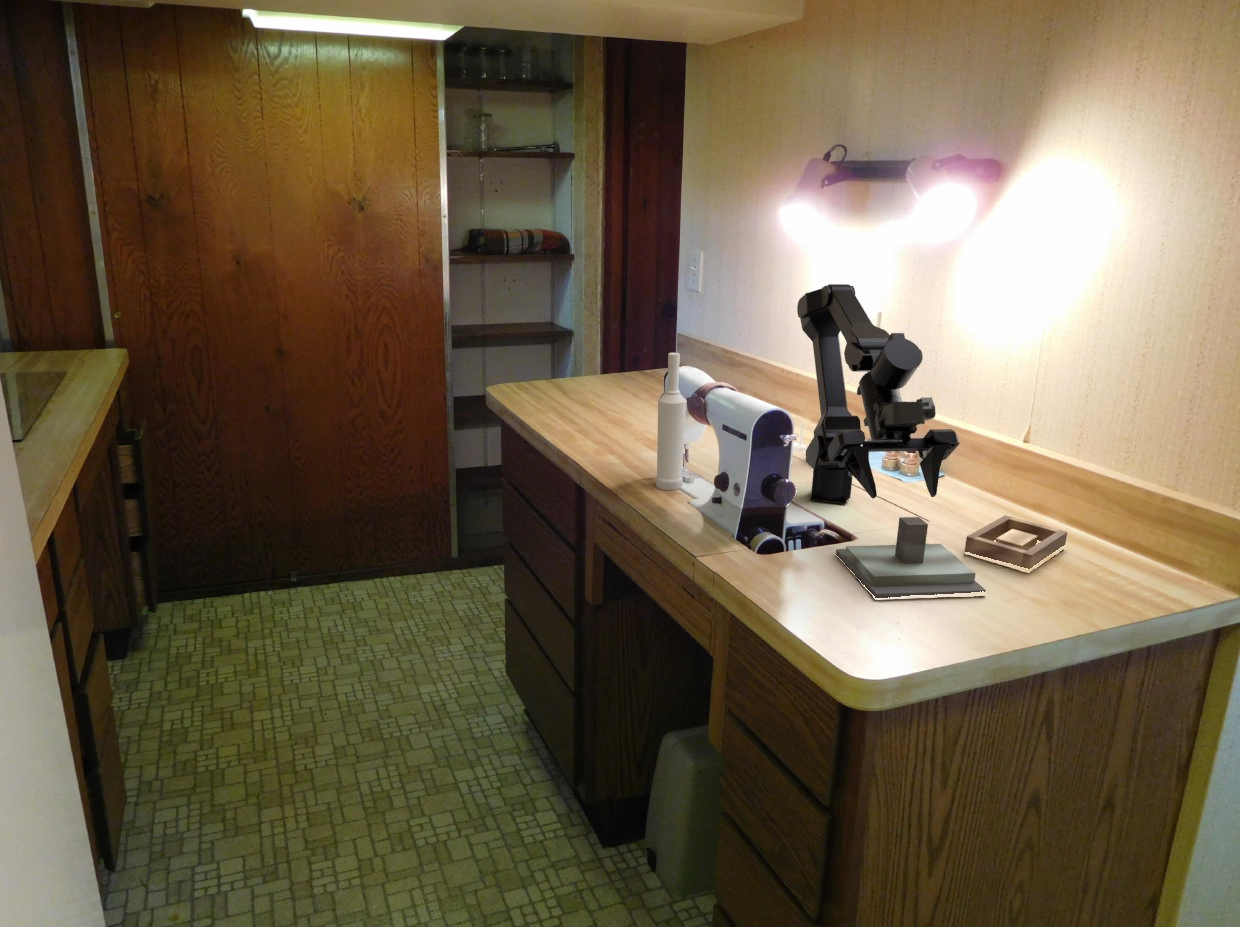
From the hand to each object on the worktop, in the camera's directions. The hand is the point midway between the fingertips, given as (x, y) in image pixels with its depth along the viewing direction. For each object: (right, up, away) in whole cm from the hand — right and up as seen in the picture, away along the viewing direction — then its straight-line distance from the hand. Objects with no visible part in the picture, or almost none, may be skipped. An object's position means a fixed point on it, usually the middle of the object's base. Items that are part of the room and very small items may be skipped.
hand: (904, 496), depth 136 cm
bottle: (-33, 0, +36) cm, 49 cm away
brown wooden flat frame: (+20, -9, +9) cm, 24 cm away
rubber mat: (0, -12, 0) cm, 11 cm away
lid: (0, -11, -1) cm, 11 cm away
